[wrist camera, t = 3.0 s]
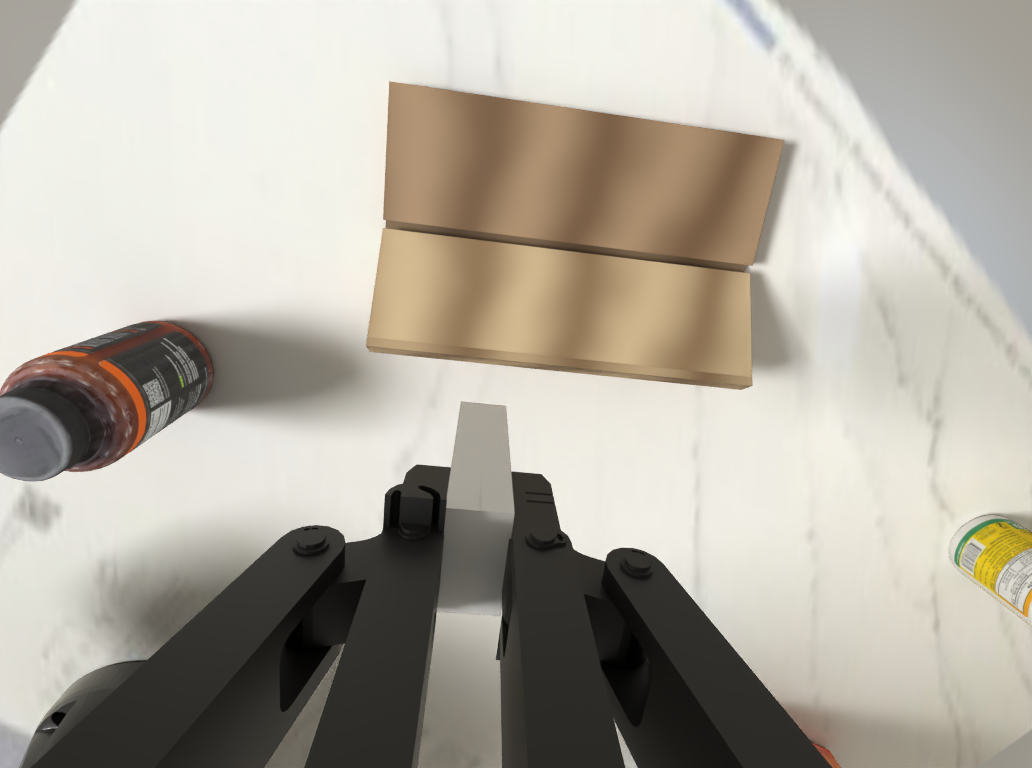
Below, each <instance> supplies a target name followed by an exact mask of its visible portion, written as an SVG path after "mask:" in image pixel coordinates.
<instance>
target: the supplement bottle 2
mask: <svg viewBox="0 0 1032 768" xmlns="http://www.w3.org/2000/svg"><path fill="white" fill-rule="evenodd" d="M949 557H950V560H951V563H952V564H953V566H954V567H955V568H956V569H957V570H958V571H959V572H961V573H962V574H963V575H965V576H966V577H967V578H969V579H970V580H971V581H973V582H974V583H975V584H976V585H978V586H979V587H980V588H982V589H983V590H984V591H986V592H987V593H988V594H990V595H991V596H992V597H994V598H995V599H996V600H998V601H999V602H1000V603H1002V604H1003V605H1004V606H1005V607H1007V608H1008V609H1009V610H1011V611H1012V612H1013V613H1015V614H1016V615H1017V616H1018V617H1020V618H1021V619H1022V620H1024V621H1025V622H1026V623H1028V624H1029V625H1030V626H1032V532H1031V531H1029V530H1027V529H1026V528H1024V527H1022V526H1021V525H1019V524H1017V523H1015V522H1013V521H1012V520H1010V519H1007V518H1005V517H1001V516H995V515H987V516H981V517H978V518H976V519H973V520H971V521H969V522H968V523H966V524H965V525H963V526H962V527H961V528H960V529H959V530H958V531H957V532H956V534H955V535H954V537H953V538H952V540H951V543H950V546H949Z"/></svg>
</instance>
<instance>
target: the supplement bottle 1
mask: <svg viewBox="0 0 1032 768" xmlns="http://www.w3.org/2000/svg"><path fill="white" fill-rule="evenodd" d="M212 382H213V366H212V362H211V359H210V357H209V354H208V352H207V351H206V349H205V348H204V346H203V345H202V343H201V342H200V341H199V340H198V339H197V338H196V337H195V336H193V335H192V334H191V333H189V332H188V331H186V330H185V329H183V328H181V327H178V326H176V325H174V324H170V323H167V322H162V321H147V322H141V323H138V324H133V325H130V326H127V327H124V328H121V329H118V330H115V331H112V332H110V333H107V334H104V335H101V336H98V337H95V338H91V339H89V340H86V341H84V342H80V343H77V344H75V345H72V346H69V347H66V348H63V349H60V350H57V351H54V352H52V353H48V354H46V355H43V356H40V357H38V358H35V359H33V360H30V361H28V362H26V363H24V364H23V365H21V366H20V367H18V368H17V369H16V370H15V371H13V372H12V373H11V374H10V376H9V377H8V378H7V379H6V381H5V382H4V384H3V385H2V388H1V390H0V473H2V474H4V475H6V476H8V477H11V478H14V479H18V480H23V481H43V480H47V479H50V478H52V477H54V476H56V475H58V474H60V473H61V472H63V471H70V472H84V471H92V470H96V469H100V468H103V467H106V466H108V465H110V464H112V463H114V462H116V461H117V460H119V459H121V458H122V457H124V456H125V455H126V454H128V453H129V452H131V451H132V450H134V449H135V448H137V447H138V446H140V445H141V444H142V443H144V442H145V441H147V440H148V439H149V438H151V437H152V436H154V435H155V434H157V433H158V432H160V431H161V430H162V429H164V428H165V427H167V426H168V425H169V424H171V423H172V422H174V421H175V420H177V419H178V418H179V417H181V416H182V415H184V414H185V413H187V412H188V411H190V410H191V409H193V408H194V407H195V406H196V405H197V404H199V403H200V402H201V401H202V400H203V399H204V398H205V397H206V395H207V394H208V392H209V390H210V388H211V385H212Z"/></svg>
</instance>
